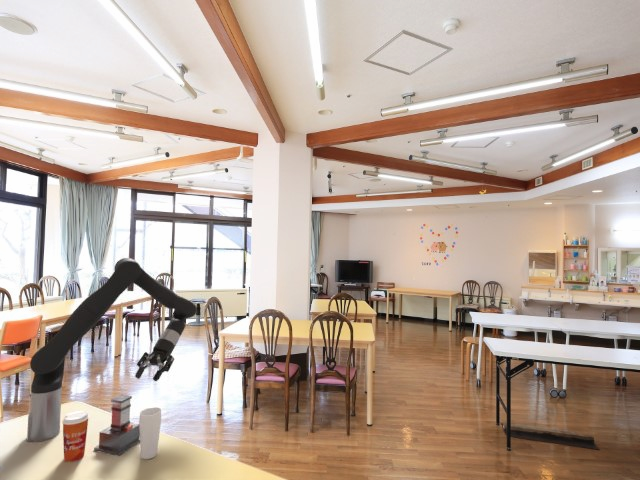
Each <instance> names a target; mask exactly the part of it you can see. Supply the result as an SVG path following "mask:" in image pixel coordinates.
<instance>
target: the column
mask: <svg viewBox="0 0 640 480" xmlns="http://www.w3.org/2000/svg"><path fill="white" fill-rule="evenodd" d="M132 397H133V396H132V395H127V394H120V395H118V396H115V397H113V398H111V399H110V402H111V404H112V406H111V424H110V426H111V431H114V432H119V433H121V432H122V431H124V427H126V426H127V425H129V424H130V422H131V419H130V413H131V407H132V406H131V405H132V404H131V399H132Z"/></svg>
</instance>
